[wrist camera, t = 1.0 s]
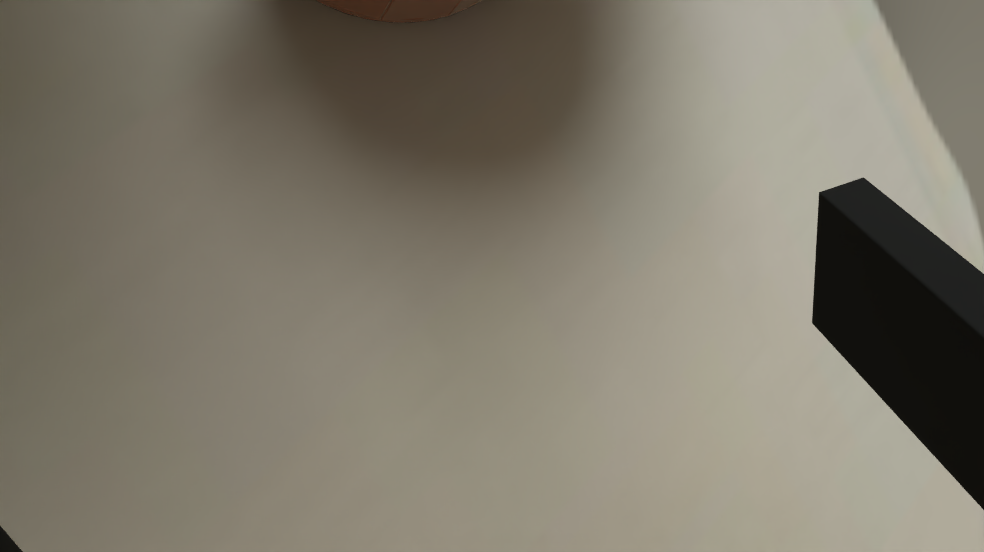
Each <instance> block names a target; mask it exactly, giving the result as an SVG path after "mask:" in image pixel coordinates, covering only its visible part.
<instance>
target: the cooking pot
mask: <svg viewBox="0 0 984 552" xmlns="http://www.w3.org/2000/svg"><path fill="white" fill-rule="evenodd" d="M317 1H318V2H320V3H322V4H324V5H326V6H329V7H331V8H334V9H336V10H339V11H341V12H343V13H346V14H350V15H354V16H357V17H361V18H365V19H370V20H377V21H384V22H419V21H427V20H434V19H438V18H441V17H447V16H450V15H452V14H455V13H457V12H460V11H462V10H464V9H467V8H469V7H471V6H473V5H475V4H477V3H478V2H480V1H482V0H317Z"/></svg>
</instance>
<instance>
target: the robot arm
mask: <svg viewBox="0 0 984 552" xmlns="http://www.w3.org/2000/svg"><path fill="white" fill-rule="evenodd" d="M812 323H813V324H814V325H815V327H816V328H817V329H818V330H819V331H820V332H821V333H822V334H823V335H824V336H825V337H826V339H827V340H828V341H829V342H830V343H831V344H832V345H833V346H834V347H835V348H836V349H837V351H838V352H839V353H840V354H841V355H842V356H843V357H844V358H845V359H846V360H847V361H848V363H849V364H850V365H851V366H852V367H853V368H854V369H855V370H856V371H857V372H858V373H859V375H860V376H861V377H862V378H863V379H864V380H865V381H866V382H867V383H868V384H869V385H870V386H871V388H872V389H873V390H874V391H875V392H876V393H877V394H878V395H879V396H880V397H881V398H882V400H883V401H884V402H885V403H886V404H887V405H888V406H889V407H890V408H891V409H892V410H893V412H894V413H895V414H896V415H897V416H898V417H899V418H900V419H901V420H902V421H903V422H904V424H905V425H906V426H907V427H908V428H909V429H910V430H911V431H912V432H913V433H914V434H915V435H916V437H917V438H918V439H919V440H920V441H921V442H922V443H923V444H924V445H925V446H926V447H927V449H928V450H929V451H930V452H931V453H932V454H933V455H934V456H935V457H936V458H937V459H938V461H939V462H940V463H941V464H942V465H943V466H944V467H945V468H946V469H947V470H948V471H949V473H950V474H951V475H952V476H953V477H954V478H955V479H956V480H957V481H958V482H959V483H960V485H961V486H962V487H963V488H964V489H965V490H966V491H967V492H968V493H969V494H970V495H971V496H972V498H973V499H974V500H975V501H976V502H977V503H978V504H979V505H980V506H981V507H982V508H983V510H984V274H983V273H982V272H981V271H979V270H978V269H977V268H976V267H974V266H973V265H972V264H971V263H969V262H968V261H967V260H966V259H964V258H963V257H962V256H961V255H959V254H958V253H957V252H956V251H954V250H953V249H952V248H951V247H949V246H948V245H947V244H946V243H944V242H943V241H942V240H941V239H939V238H938V237H937V236H936V235H934V234H933V233H932V232H931V231H930V230H928V229H927V228H926V227H925V226H923V225H922V224H921V223H920V222H918V221H917V220H916V219H915V218H913V217H912V216H911V215H910V214H908V213H907V212H906V211H905V210H903V209H902V208H901V207H900V206H898V205H897V204H896V203H895V202H893V201H892V200H891V199H890V198H888V197H887V196H886V195H885V194H883V193H882V192H881V191H880V190H878V189H877V188H876V187H875V186H873V185H872V184H871V183H870V182H869V181H867V180H866V179H865V178H861V179H858V180H855V181H852V182H849V183H846V184H843V185H840V186H837V187H834V188H831V189H828V190H825V191H822V192H819V206H818V225H817V243H816V262H815V280H814V299H813V318H812ZM0 552H22V550H21V549H20V548H19V547H18V546H17V545H16V544H15V542H14V541H13V540H12V539H11V538H10V537H9V535H8V534H7V533H6V532H5V531H4V530H3V528H2V527H1V526H0Z"/></svg>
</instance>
